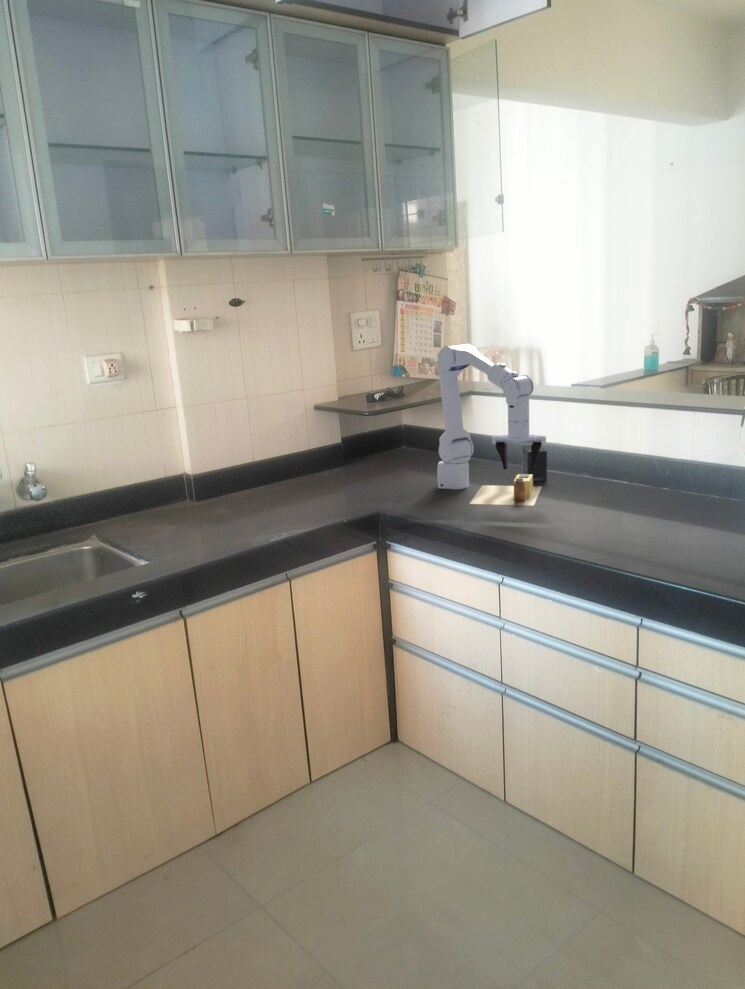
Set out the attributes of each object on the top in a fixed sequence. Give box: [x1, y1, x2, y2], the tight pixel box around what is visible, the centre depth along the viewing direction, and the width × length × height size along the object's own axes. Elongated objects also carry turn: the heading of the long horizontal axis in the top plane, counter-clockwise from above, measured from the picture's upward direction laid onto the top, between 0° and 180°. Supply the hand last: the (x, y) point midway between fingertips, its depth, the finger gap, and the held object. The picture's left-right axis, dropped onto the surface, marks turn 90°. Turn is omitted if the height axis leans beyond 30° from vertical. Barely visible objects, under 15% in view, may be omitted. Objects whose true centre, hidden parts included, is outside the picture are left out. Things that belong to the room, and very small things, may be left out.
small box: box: [521, 444, 548, 482], centre depth 237 cm, size 11×6×10 cm, turn 179°
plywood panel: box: [469, 484, 543, 507], centre depth 220 cm, size 18×21×1 cm
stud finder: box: [513, 473, 534, 496], centre depth 220 cm, size 4×8×5 cm, turn 162°
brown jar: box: [513, 477, 525, 502], centre depth 212 cm, size 3×3×6 cm
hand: (519, 468), depth 211 cm, fingers open, 7 cm apart
